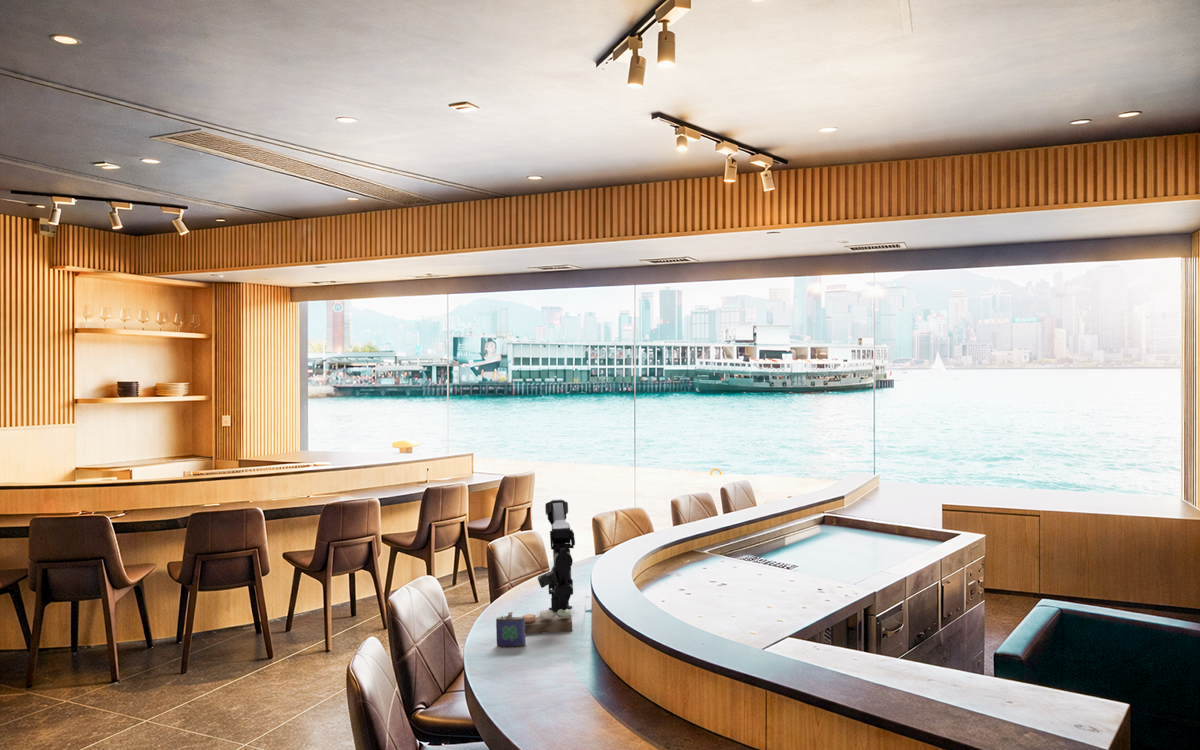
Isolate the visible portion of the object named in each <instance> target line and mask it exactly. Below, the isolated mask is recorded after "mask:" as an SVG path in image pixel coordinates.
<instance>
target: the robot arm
mask: <svg viewBox="0 0 1200 750" xmlns="http://www.w3.org/2000/svg"><path fill="white" fill-rule="evenodd" d="M544 509H545V510H544V511H545V516H546V517H547V520H548V522H549V523H550V525H551V530H550V531H549V539H550V549H551V550H552V554H553V555H552V557H553V561H552V563H553V565H552V568H551V570H550V571H548V572H545V573H542V574H540V575H538V576H537V582H539V583H538V584H539V586H540V588H541V589H544V588H545V587H546V586H547V588H548V595H551V599H550V602H551V607H548V610H552V611H553V612H554V611H555V612H558V610H560V609H562V610H566V609H570V610H571V609H572V608H573V606H572V605H570V602H569V601H570V598H571V596H572V595H574V584H573V583H574V580H573V579H572V565H573V561H574V560H573V557H572V553H571V549H574V548H575V546H576V540H575V532H574V530H573V529H571V526H570V523H569V522H567V521H566V519H567V515H568V514H569V503H568V501H565V499H558V498H557V499H552V500H550V501H548V502H546V503H545V508H544Z"/></svg>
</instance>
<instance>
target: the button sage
mask: <svg viewBox="0 0 1200 750" xmlns="http://www.w3.org/2000/svg"><path fill="white" fill-rule="evenodd" d="M571 611H572V610H571V608H570V609H566V610H562V609H560V610H558V611H557V616H558V617H569V616H571V617H572V612H571Z"/></svg>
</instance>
